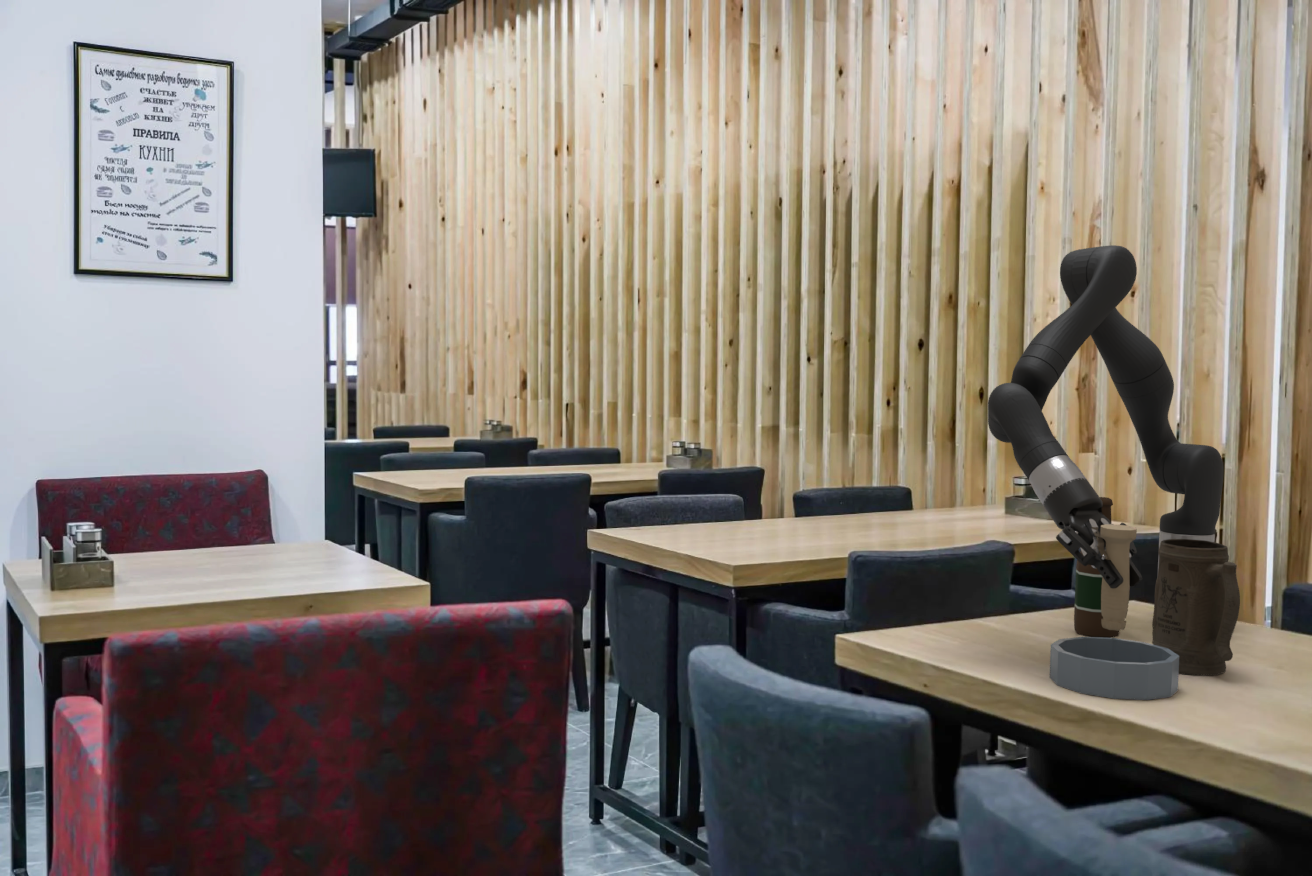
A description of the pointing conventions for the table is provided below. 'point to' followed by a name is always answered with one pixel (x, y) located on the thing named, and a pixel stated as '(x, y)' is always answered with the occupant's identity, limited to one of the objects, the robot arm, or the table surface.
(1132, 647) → the bowl
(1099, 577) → the beer bottle
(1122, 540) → the handle
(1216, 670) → the beer stein
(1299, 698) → the table surface
